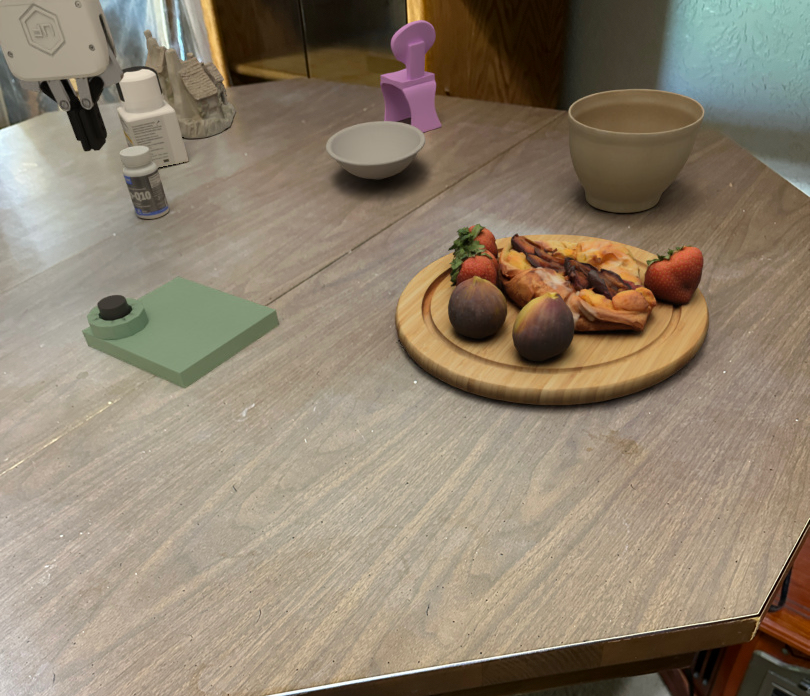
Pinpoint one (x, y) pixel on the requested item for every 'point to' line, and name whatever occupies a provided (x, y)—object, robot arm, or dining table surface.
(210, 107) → the ceramic cottage
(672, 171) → the planter bowl
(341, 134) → the dish
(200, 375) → the scale
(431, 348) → the wooden plate
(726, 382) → the dining table surface
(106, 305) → the button
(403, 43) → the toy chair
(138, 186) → the pill bottle
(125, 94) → the container
